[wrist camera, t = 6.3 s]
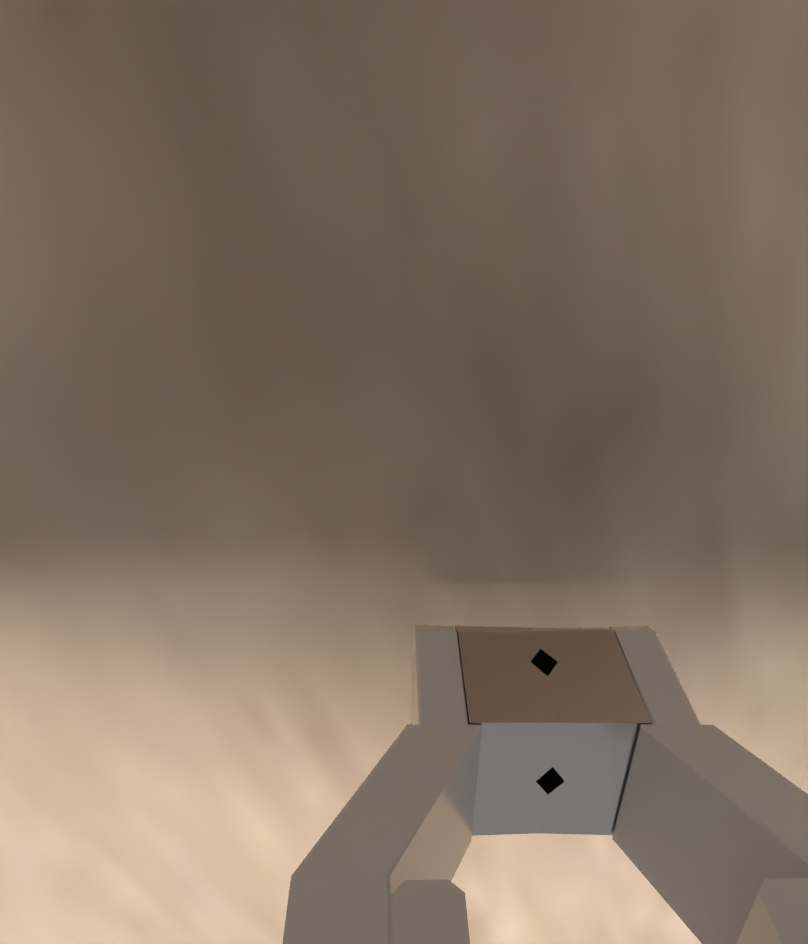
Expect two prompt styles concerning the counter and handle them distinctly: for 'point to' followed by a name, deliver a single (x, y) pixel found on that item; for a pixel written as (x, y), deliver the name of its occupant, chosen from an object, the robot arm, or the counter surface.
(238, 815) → the counter surface
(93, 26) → the counter surface
